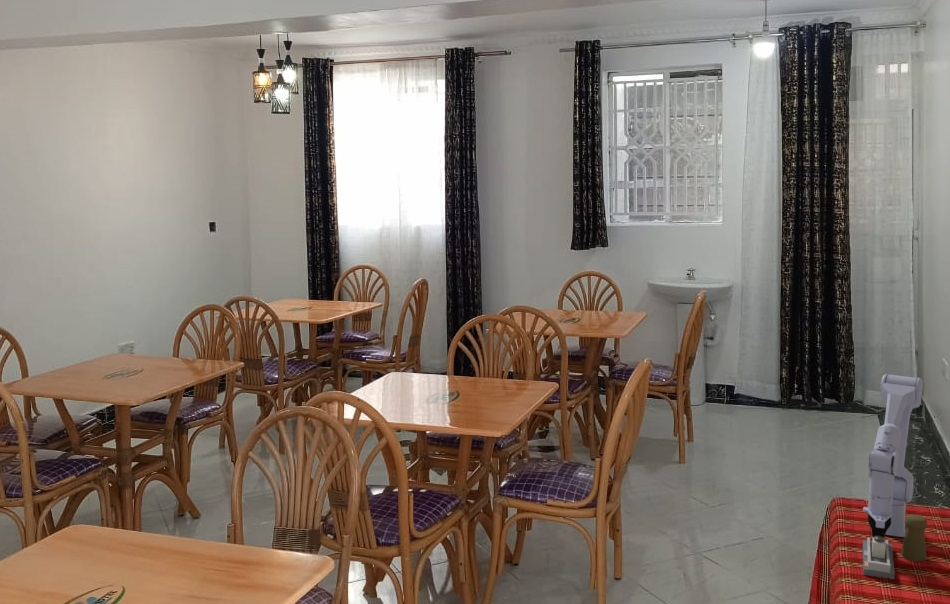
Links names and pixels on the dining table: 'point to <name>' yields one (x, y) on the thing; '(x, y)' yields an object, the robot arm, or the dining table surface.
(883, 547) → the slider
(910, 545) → the brown tall tapered piece
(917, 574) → the dining table surface
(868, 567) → the board
